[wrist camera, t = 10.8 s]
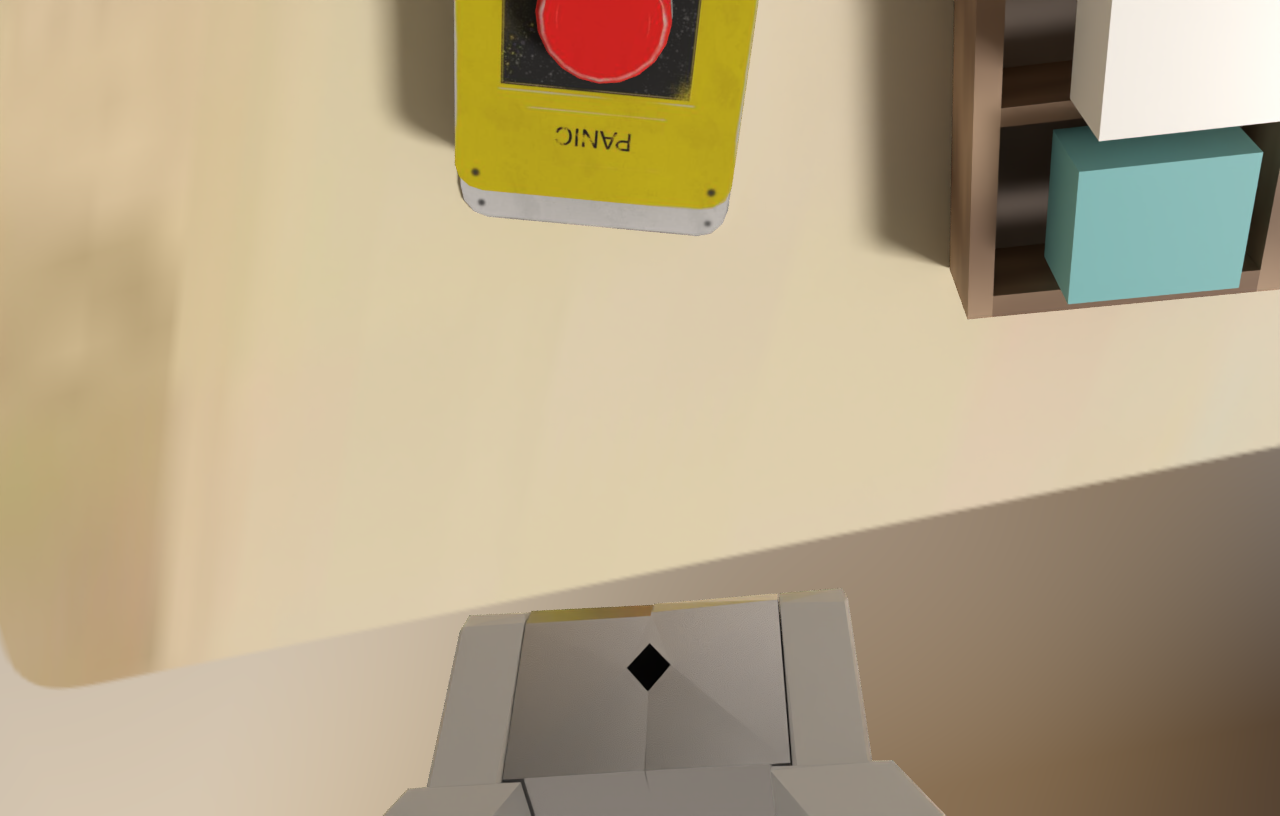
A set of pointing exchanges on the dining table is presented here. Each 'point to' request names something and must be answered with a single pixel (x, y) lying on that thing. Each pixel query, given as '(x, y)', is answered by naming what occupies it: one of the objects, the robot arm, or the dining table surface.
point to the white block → (1175, 65)
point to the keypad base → (1042, 161)
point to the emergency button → (601, 109)
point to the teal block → (1149, 212)
